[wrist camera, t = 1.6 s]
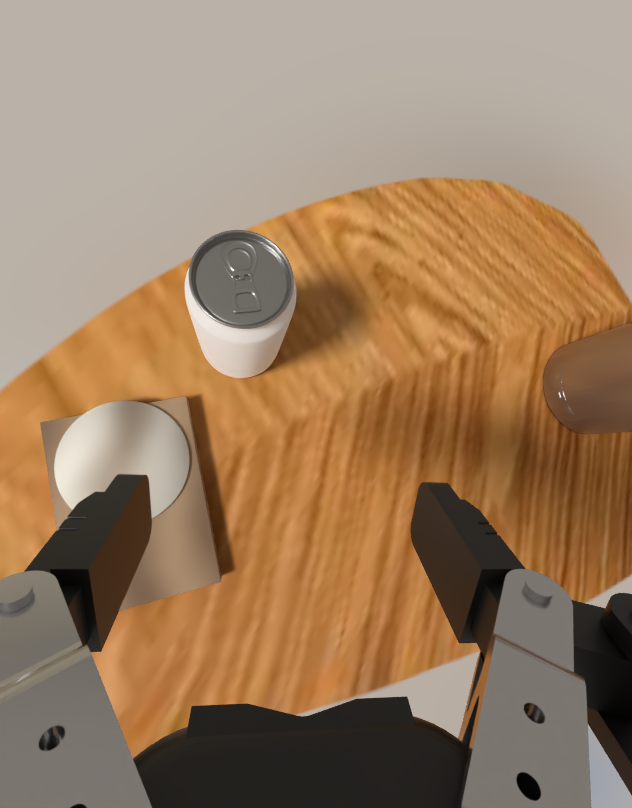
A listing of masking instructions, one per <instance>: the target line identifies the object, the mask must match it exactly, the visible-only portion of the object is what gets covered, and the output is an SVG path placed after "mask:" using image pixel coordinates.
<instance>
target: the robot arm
mask: <svg viewBox="0 0 632 808" xmlns="http://www.w3.org/2000/svg"><path fill="white" fill-rule="evenodd" d="M543 387H544V393H545V397H546V400H547V403H548V406H549V407H550V409H551V411H552V412H553V414H554V415H555V417H556V418H557V419H558V420H559V421H560V422H561V423H562V424H563V425H565V426H566V427H567V428H569V429H571V430H573V431H575V432H578V433H582V434H601V433H617V432H632V323H629V324H626V325H623V326H620V327H617V328H614V329H611V330H608V331H605V332H601V333H598V334H596V335H593V336H590V337H587V338H584V339H581V340H578V341H575V342H572V343H569V344H567V345H564V346H562V347H560V348H559V349H558V350H556V351H555V352H554V353H553V355H552V356H551V357H550V359H549V360H548V363H547V365H546V367H545V372H544V376H543ZM151 529H152V514H151V501H150V487H149V479H148V476H147V475H135V474H118V475H116V477H115V478H114V479H113V481H112V482H111V484H110V485H109V486H108V488H107V489H106V491H105V492H94V493H92V494H91V495H89V496H88V497H86V498H85V499H83V500H82V501H80V502H79V503H78V504H77V505H76V506H75V507H74V509H73V510H72V511H71V513H70V514H69V515H68V516H67V519H65V520H64V521H63V523H62V524H61V525H60V527H59V529H58V531H56V532H55V533H54V534H53V535H52V537H51V538H50V539H49V541H48V542H47V543H46V544H45V546H44V547H43V548H42V549H41V551H40V552H39V553H38V555H37V556H36V557H35V558H34V560H33V561H32V562H31V564H30V565H29V566H28V567H27V569H26V570H25V571H24V572H21V573H17V574H14V575H11V576H9V577H6V578H4V579H2V580H0V808H591V791H590V769H589V746H588V745H589V744H588V724H589V726H590V728H591V729H592V731H593V732H594V734H595V736H596V737H597V739H598V741H599V742H600V744H601V745H602V747H603V749H604V750H605V752H606V754H607V755H608V757H609V759H610V760H611V762H612V764H613V765H614V767H615V768H616V770H617V772H618V773H619V775H620V777H621V778H622V780H623V781H624V783H625V785H626V787H627V788H628V790H629V791H630V793H631V795H632V594H627V593H618V594H615V595H613V596H612V597H611V598H610V600H609V602H608V604H607V606H606V608H601V607H597V606H593V605H589V604H585V603H581V602H577V601H573V600H571V599H570V597H569V595H568V594H567V593H566V591H565V590H564V589H563V588H562V587H561V586H560V585H558V584H557V583H556V582H554V581H553V580H551V579H550V578H548V577H546V576H544V575H542V574H540V573H538V572H535V571H531V570H527V569H525V568H524V566H523V565H522V564H521V563H520V561H519V560H518V559H517V558H516V556H515V555H514V554H513V552H512V551H511V550H510V549H509V547H508V546H507V545H506V544H505V542H504V541H503V540H502V538H501V537H500V536H499V535H497V532H496V531H495V530H494V528H493V527H492V526H491V525H489V522H488V521H487V519H486V518H485V517H484V516H483V514H482V513H481V512H480V510H478V509H477V508H476V507H474V506H473V505H471V504H470V503H469V502H467V501H466V500H460V499H459V497H458V496H457V495H456V493H455V492H454V491H453V489H452V488H451V486H450V485H449V484H448V483H430V482H423V483H421V484H420V486H419V490H418V494H417V499H416V504H415V508H414V513H413V518H412V522H411V539H412V543H413V546H414V548H415V550H416V552H417V554H418V556H419V559H420V561H421V563H422V565H423V567H424V569H425V571H426V574H427V576H428V578H429V580H430V582H431V584H432V586H433V588H434V591H435V593H436V595H437V597H438V599H439V601H440V603H441V606H442V608H443V610H444V612H445V614H446V616H447V618H448V621H449V623H450V625H451V627H452V629H453V631H454V633H455V636H456V638H457V640H458V642H459V643H477V644H478V646H479V648H480V650H481V651H480V654H479V657H478V660H477V664H476V668H475V672H474V676H473V681H472V685H471V689H470V693H469V697H468V701H467V706H466V710H465V714H464V718H463V722H462V726H461V730H460V733H459V737H458V738H456V737H455V736H453V735H452V734H450V733H449V732H447V731H446V730H444V729H442V728H440V727H438V726H436V725H435V724H433V723H430V722H428V721H425V720H423V719H420V718H417V717H413V715H412V712H411V709H410V705H409V701H408V698H407V697H389V698H365V699H355V700H352V701H349V702H346V703H344V704H341V705H338V706H335V707H332V708H329V709H327V710H324V711H321V712H318V713H315V714H313V715H310V716H304V717H301V716H296V715H292V714H288V713H284V712H279V711H275V710H271V709H267V708H263V707H259V706H255V705H251V704H229V705H207V706H192V708H191V713H190V719H189V724H188V727H186V728H183V729H181V730H178V731H176V732H174V733H172V734H170V735H168V736H165V737H163V738H162V739H160V740H159V741H157V742H155V743H154V744H152V745H150V746H149V747H148V748H146V749H145V750H144V751H142V752H141V753H140V754H138V755H137V756H136V757H134V758H132V756H131V753H130V751H129V748H128V746H127V743H126V740H125V738H124V735H123V733H122V730H121V728H120V725H119V723H118V720H117V718H116V715H115V713H114V710H113V708H112V705H111V703H110V700H109V698H108V695H107V692H106V690H105V687H104V685H103V682H102V680H101V677H100V675H99V672H98V670H97V667H96V665H95V662H94V660H93V657H92V655H91V652H101V651H102V648H103V646H104V644H105V641H106V639H107V637H108V635H109V632H110V630H111V628H112V625H113V623H114V621H115V619H116V616H117V614H118V612H119V609H120V607H121V605H122V602H123V600H124V598H125V596H126V593H127V591H128V589H129V586H130V584H131V582H132V579H133V577H134V575H135V573H136V570H137V568H138V566H139V563H140V561H141V559H142V557H143V554H144V552H145V550H146V547H147V545H148V543H149V539H150V535H151Z"/></svg>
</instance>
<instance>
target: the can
mask: <svg viewBox="0 0 632 808" xmlns="http://www.w3.org/2000/svg"><path fill="white" fill-rule="evenodd" d="M185 298H186V303H187V306H188V310H189V313H190V316H191V319H192V322H193V325H194V328H195V331H196V334H197V337H198V340H199V343H200V346H201V349H202V351H203V354H204V356H205V358H206V359H207V361H208V362H209V363H210V364H211V365H212V366H213V367H214V368H215V369H216V370H217V371H219V372H221V373H222V374H225V375H227V376H230V377H235V378H248V377H252V376H255V375H258V374H260V373H262V372H263V371H265V370H266V369H267V368H268V367H269V366H270V365H271V364H272V363H273V361H274V360H275V358H276V356H277V354H278V351H279V349H280V347H281V344H282V342H283V339H284V337H285V334H286V331H287V329H288V326H289V324H290V321H291V318H292V315H293V312H294V309H295V305H296V284H295V280H294V277H293V272H292V269H291V266H290V263H289V261H288V259H287V257H286V256H285V254H284V253H283V252H282V250H281V249H280V248H279V247H278V246H277V245H276V244H274V243H273V242H272V241H271V240H269V239H267V238H266V237H264V236H262V235H260V234H257V233H254V232H250V231H244V230H231V231H225V232H222V233H219V234H216V235H214V236H212V237H211V238H209V239H208V240H207V241H205V242H204V243H203V244H202V245H201V246H200V247H199V248H198V249H197V251H196V252H195V254H194V256H193V258H192V260H191V263H190V267H189V269H188V272H187V275H186V279H185Z"/></svg>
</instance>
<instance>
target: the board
mask: <svg viewBox="0 0 632 808" xmlns="http://www.w3.org/2000/svg"><path fill="white" fill-rule="evenodd" d="M40 424H41V430H42V437H43V443H44V450H45V456H46V463H47V469H48V476H49V482H50V488H51V495H52V501H53V508H54V514H55V521H56V527H57V531H58V529H59V527H60V525H61V524H62V523H63V521H64V520H65V519H67V516H68V515H69V514H70V513H71V511H72V510H73V509H74V507H75V506H76V505H77V504H78V503H79V502H80V501H82V500H83V499H85V498H86V497H88V496H89V495H91V494H92V493H94V492H105V491H106V489H107V488H108V486H109V485H110V484H111V482H112V481H113V479H114V478H115V477H116V475H118V474H135V475H147V476H148V479H149V487H150V501H151V514H152V529H151V535H150V539H149V543H148V545H147V547H146V550H145V552H144V554H143V557H142V559H141V561H140V563H139V566H138V568H137V570H136V573H135V575H134V577H133V579H132V582H131V584H130V586H129V589H128V591H127V593H126V596H125V598H124V600H123V602H122V605H121V607H120V609H119V611H121V610H124V609H128V608H131V607H135V606H138V605H142V604H145V603H149V602H152V601H156V600H159V599H163V598H166V597H170V596H173V595H177V594H180V593H184V592H187V591H191V590H194V589H198V588H201V587H204V586H208V585H211V584H215V583H218V582H221V577H222V575H221V570H220V565H219V559H218V554H217V549H216V543H215V538H214V533H213V528H212V522H211V517H210V512H209V507H208V501H207V496H206V491H205V485H204V480H203V475H202V470H201V464H200V459H199V454H198V449H197V443H196V438H195V433H194V427H193V422H192V417H191V412H190V406H189V401H188V398H187V397H186V396H184V397H179V398H173V399H168V400H162V401H157V402H151V403H142V402H137V401H115V402H110V403H106V404H103V405H100V406H97V407H95V408H93V409H91V410H89V411H88V412H86V413H85V414H83V415H79V416H73V417H68V418H62V419H57V420H51V421H45V422H40Z"/></svg>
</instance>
